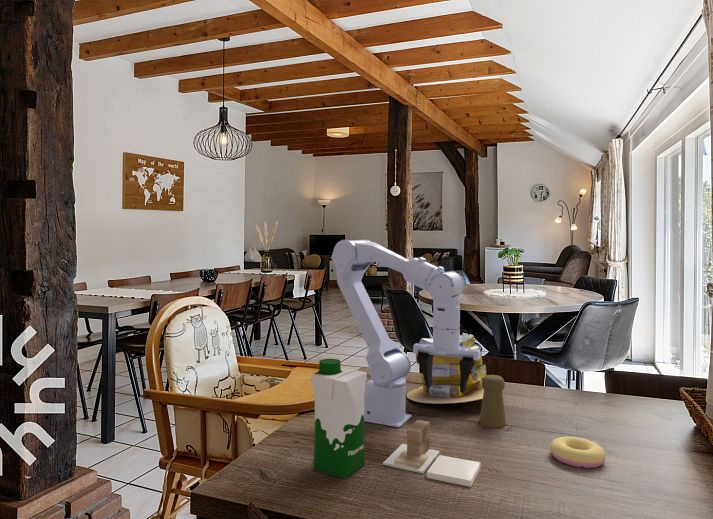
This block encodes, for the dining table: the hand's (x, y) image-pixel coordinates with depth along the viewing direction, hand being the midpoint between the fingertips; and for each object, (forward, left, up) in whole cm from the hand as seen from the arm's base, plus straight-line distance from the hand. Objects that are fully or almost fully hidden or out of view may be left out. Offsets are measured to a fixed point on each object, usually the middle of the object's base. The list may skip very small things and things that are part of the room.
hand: (445, 388), depth 116 cm
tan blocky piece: (-2, -15, -9) cm, 18 cm away
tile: (+7, -13, -10) cm, 18 cm away
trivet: (-2, -15, -10) cm, 19 cm away
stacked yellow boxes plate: (-5, +25, -10) cm, 27 cm away
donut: (+27, -1, -10) cm, 29 cm away
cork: (+8, +11, -10) cm, 17 cm away
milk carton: (-13, -25, -10) cm, 30 cm away
